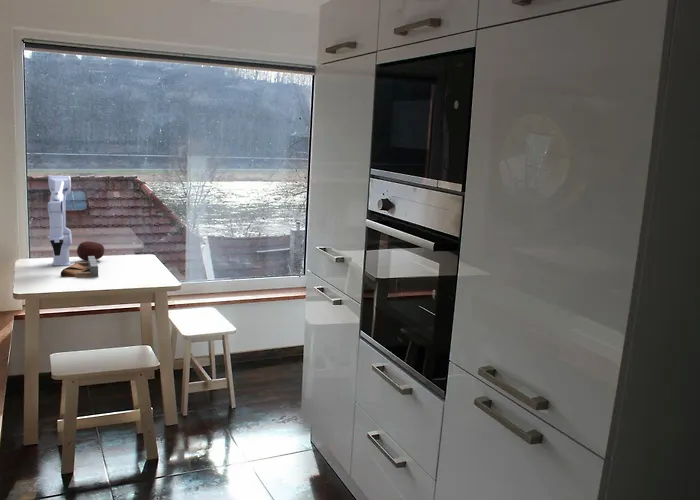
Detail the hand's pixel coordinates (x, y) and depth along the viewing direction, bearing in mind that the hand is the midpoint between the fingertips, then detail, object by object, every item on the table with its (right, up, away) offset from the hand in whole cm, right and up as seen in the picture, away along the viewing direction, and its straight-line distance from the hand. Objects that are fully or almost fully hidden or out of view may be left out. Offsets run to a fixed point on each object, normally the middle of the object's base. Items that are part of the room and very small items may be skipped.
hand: (57, 255), depth 296 cm
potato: (+3, -3, +31) cm, 32 cm away
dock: (+11, -8, +7) cm, 15 cm away
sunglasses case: (+8, -9, +2) cm, 12 cm away
